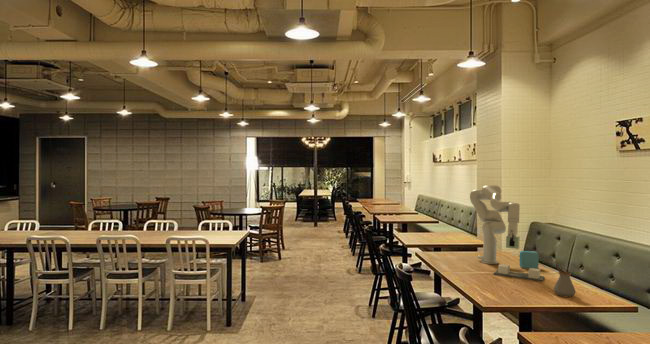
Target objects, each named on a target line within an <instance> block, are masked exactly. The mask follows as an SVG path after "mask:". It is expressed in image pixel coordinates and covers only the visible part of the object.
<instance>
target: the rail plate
mask: <svg viewBox="0 0 650 344" xmlns="http://www.w3.org/2000/svg"><path fill="white" fill-rule="evenodd" d="M494 275H495V276H501V277H507V278H508V277H509V278H513V279H520V280H527V281H534V282H540V283H541V282H543V281H544V280H545V275H540V277H539V279H536V278H529V277H528V273H527V272H517V271H511V270H510V272H509V273H508V274H502V273H498V268H497V269H496V271H494V272H493V276H494Z"/></svg>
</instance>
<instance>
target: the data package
mask: <svg viewBox="0 0 650 344" xmlns="http://www.w3.org/2000/svg"><path fill="white" fill-rule="evenodd" d="M539 256H540V254H539V252H537V251H533V250H532V251H531V250H521V251H519V266H520V267H521V268H522V269H530V268H535V269H539V261H540V257H539Z"/></svg>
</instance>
